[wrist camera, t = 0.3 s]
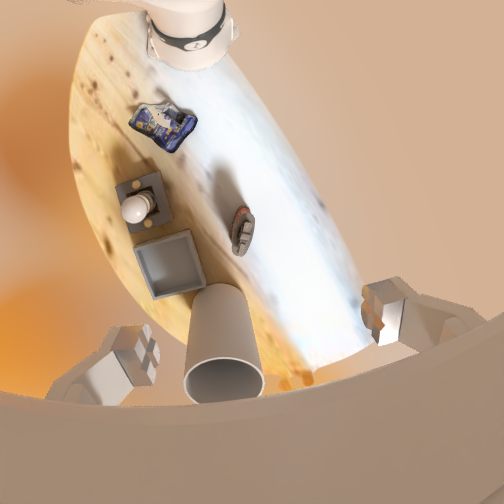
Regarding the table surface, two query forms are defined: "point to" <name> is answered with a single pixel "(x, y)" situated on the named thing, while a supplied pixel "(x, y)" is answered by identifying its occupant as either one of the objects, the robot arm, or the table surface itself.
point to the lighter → (242, 231)
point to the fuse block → (160, 195)
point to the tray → (170, 265)
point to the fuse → (138, 206)
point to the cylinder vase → (221, 348)
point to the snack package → (162, 135)
